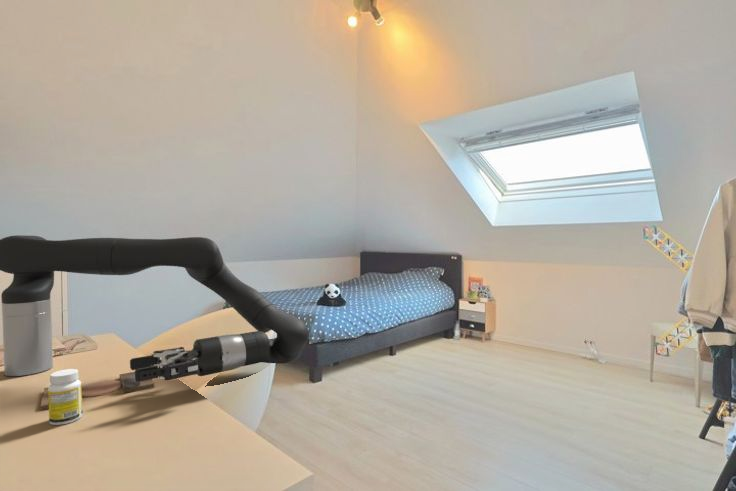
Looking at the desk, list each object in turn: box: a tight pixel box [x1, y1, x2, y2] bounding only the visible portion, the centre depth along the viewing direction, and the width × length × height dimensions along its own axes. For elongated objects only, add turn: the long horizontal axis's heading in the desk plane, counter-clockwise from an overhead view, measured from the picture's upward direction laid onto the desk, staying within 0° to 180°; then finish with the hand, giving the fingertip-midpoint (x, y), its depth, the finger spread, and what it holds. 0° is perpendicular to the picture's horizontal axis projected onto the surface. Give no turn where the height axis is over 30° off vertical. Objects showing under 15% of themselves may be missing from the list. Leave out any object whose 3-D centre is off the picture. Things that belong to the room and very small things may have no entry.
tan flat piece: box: [39, 371, 155, 411], centre depth 87 cm, size 12×19×2 cm, turn 125°
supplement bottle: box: [48, 368, 84, 426], centre depth 72 cm, size 5×5×8 cm
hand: (132, 370), depth 78 cm, fingers open, 8 cm apart
